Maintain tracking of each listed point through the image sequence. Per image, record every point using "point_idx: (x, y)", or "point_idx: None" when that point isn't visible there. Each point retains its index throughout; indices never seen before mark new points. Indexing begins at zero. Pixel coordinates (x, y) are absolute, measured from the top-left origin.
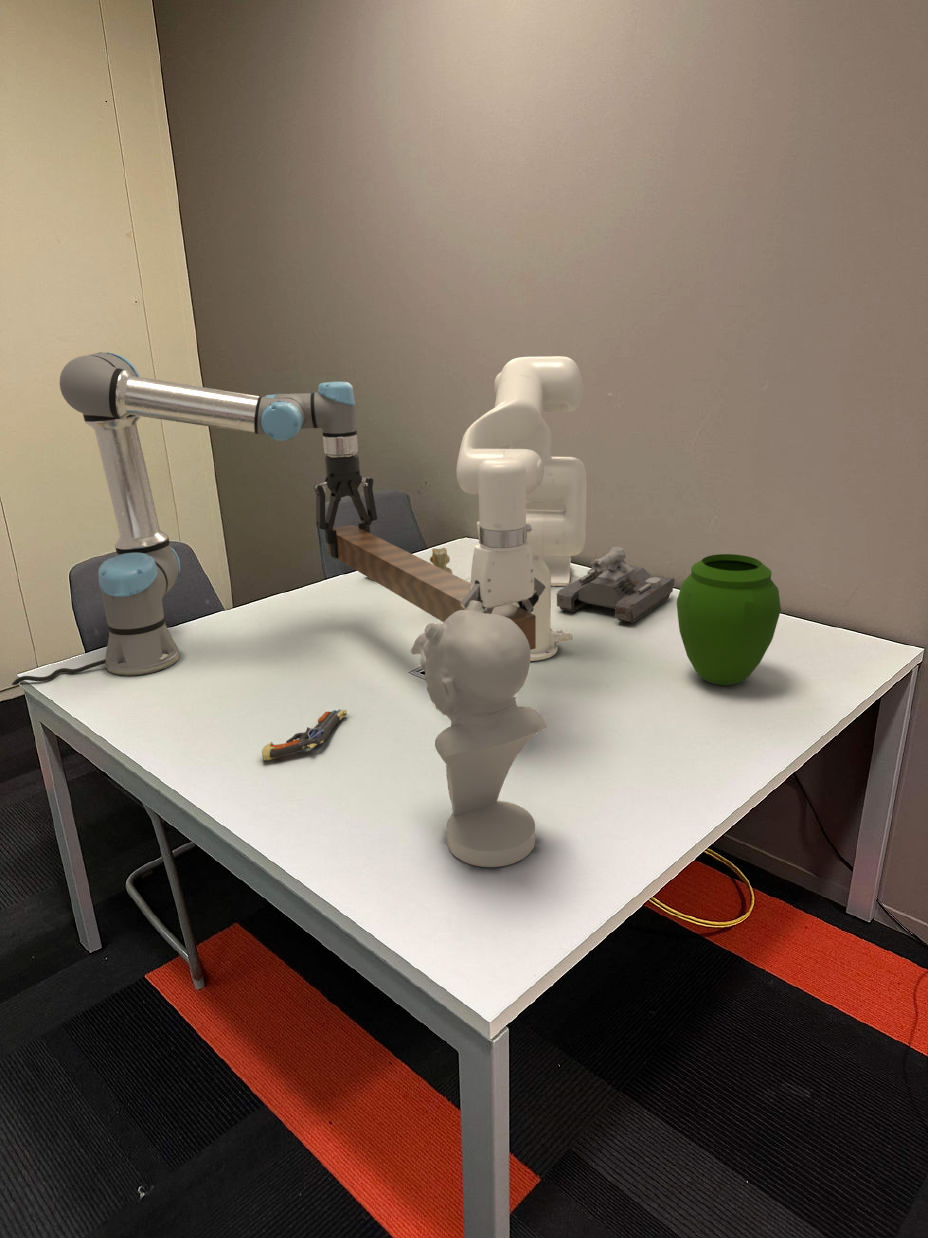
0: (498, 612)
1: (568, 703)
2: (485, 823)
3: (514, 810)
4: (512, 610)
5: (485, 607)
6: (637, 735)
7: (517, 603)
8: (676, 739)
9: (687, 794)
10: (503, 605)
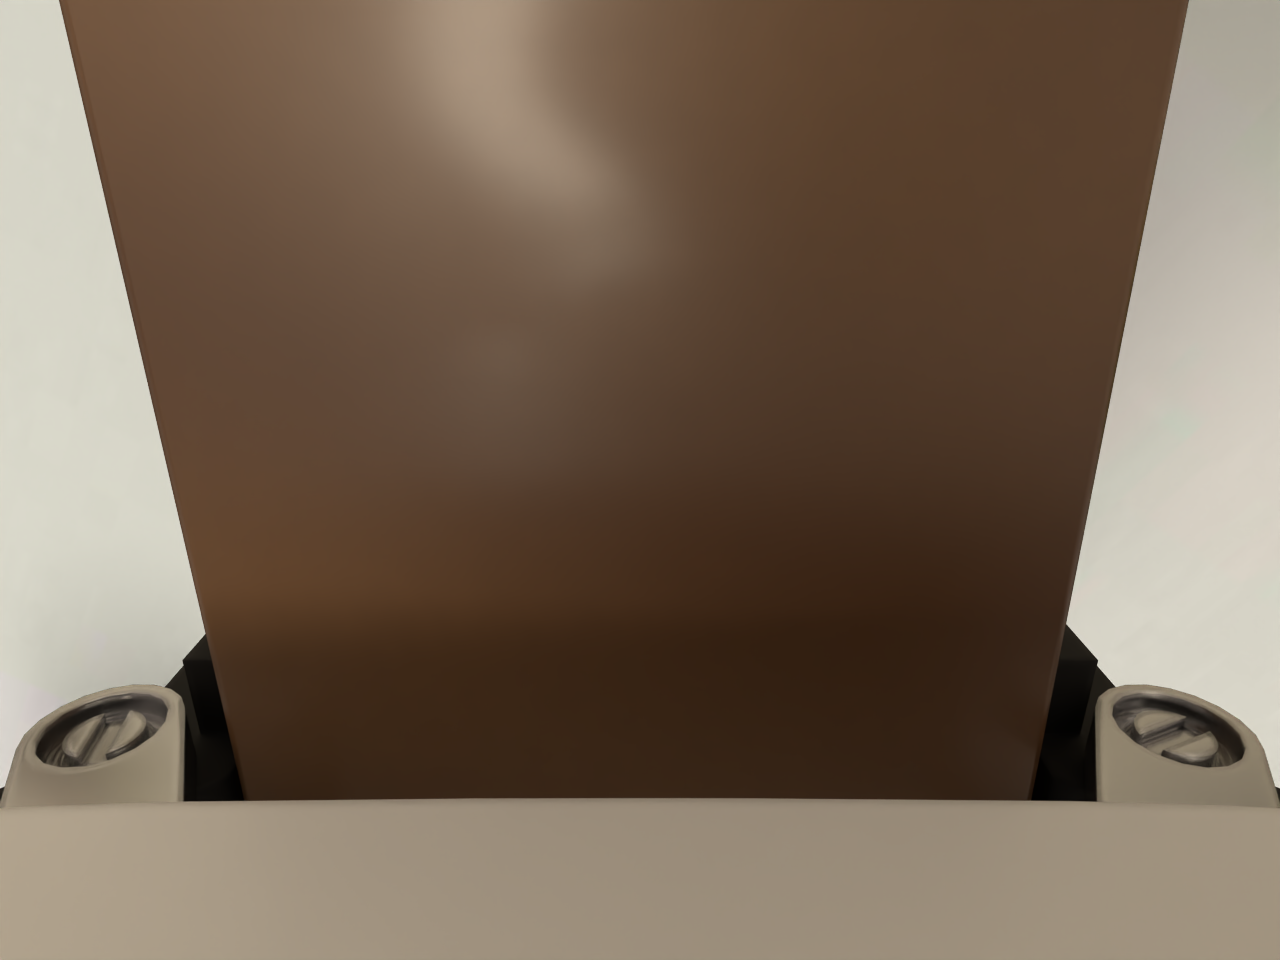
0: None
1: (1169, 156)
2: None
3: None
4: None
5: (430, 494)
6: (1137, 601)
7: (1091, 782)
8: (1222, 699)
9: None
10: (847, 598)
